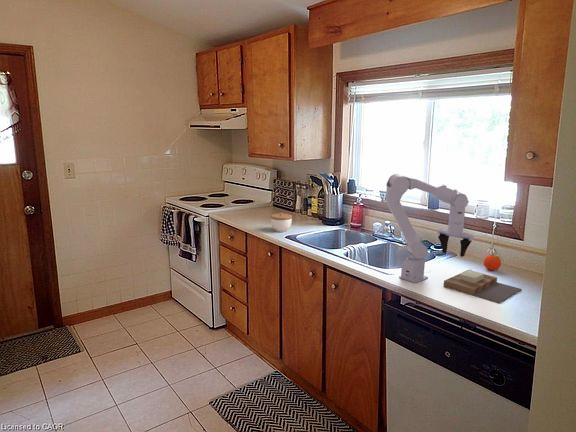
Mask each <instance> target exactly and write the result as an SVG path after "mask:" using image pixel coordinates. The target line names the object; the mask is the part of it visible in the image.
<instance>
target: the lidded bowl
mask: <svg viewBox="0 0 576 432" xmlns="http://www.w3.org/2000/svg"><path fill="white" fill-rule="evenodd" d="M292 221H293V215H291V214H289V213H283V212H282V211H281V212H280V213H273V214H271V215H270V223H271V227H272V228H273V229H274V231H275V232H278V233H285V232H288V231H289V229H290V228H291V225H292Z"/></svg>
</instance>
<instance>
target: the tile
mask: <svg viewBox="0 0 576 432" xmlns="http://www.w3.org/2000/svg"><path fill="white" fill-rule="evenodd" d="M467 270H468V271H467ZM467 270H465V271H466V272H465V271H463V272H464V273H462V272H460V273H461V274H460V273H459V274H460V279H461V280H465V281H469V282H472V283H476V282H478V281H480V280H482V279H484V274H485V273H482V272H478V271H477V270H476V271H474V270H471V269H467Z"/></svg>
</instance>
